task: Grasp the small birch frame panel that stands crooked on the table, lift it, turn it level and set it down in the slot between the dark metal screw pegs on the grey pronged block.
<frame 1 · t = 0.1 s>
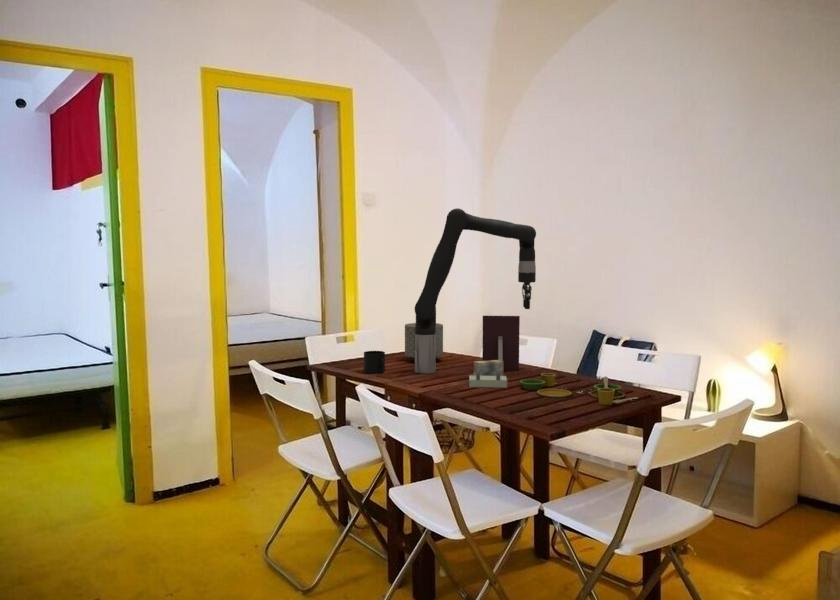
hand: (526, 308, 282), 29 cm above the table, fingers open, 8 cm apart
mug: (376, 372, 286), on the table
tableware set: (574, 395, 243), on the table
dark maroon upright block: (500, 371, 289), on the table
grey pronged block: (487, 385, 258), on the table
frame panel: (488, 380, 269), on the table
planter: (423, 361, 318), on the table
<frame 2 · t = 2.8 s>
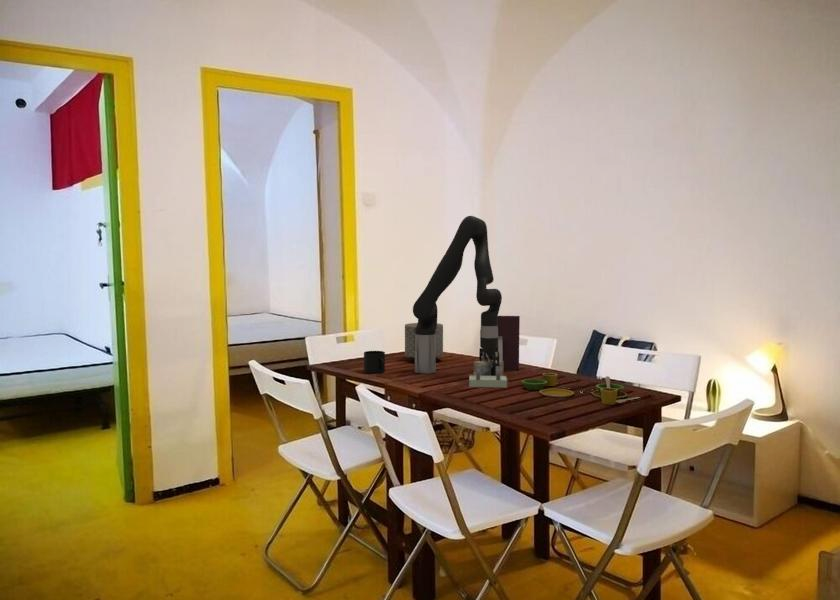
hand: (489, 374, 269), 2 cm above the table, fingers open, 8 cm apart
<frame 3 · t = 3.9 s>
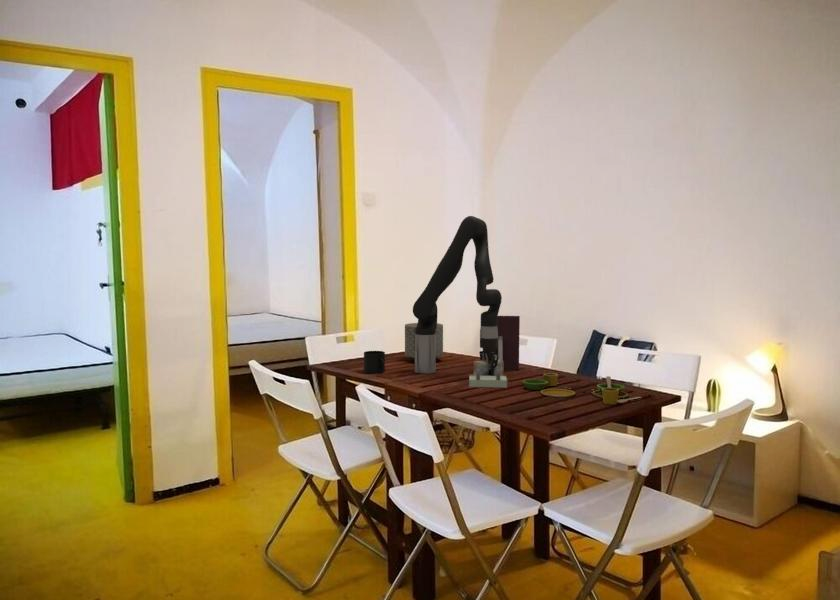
hand: (488, 376, 269), 1 cm above the table, fingers closed on frame panel, 4 cm apart
frame panel: (488, 379, 269), on the table, touching gripper
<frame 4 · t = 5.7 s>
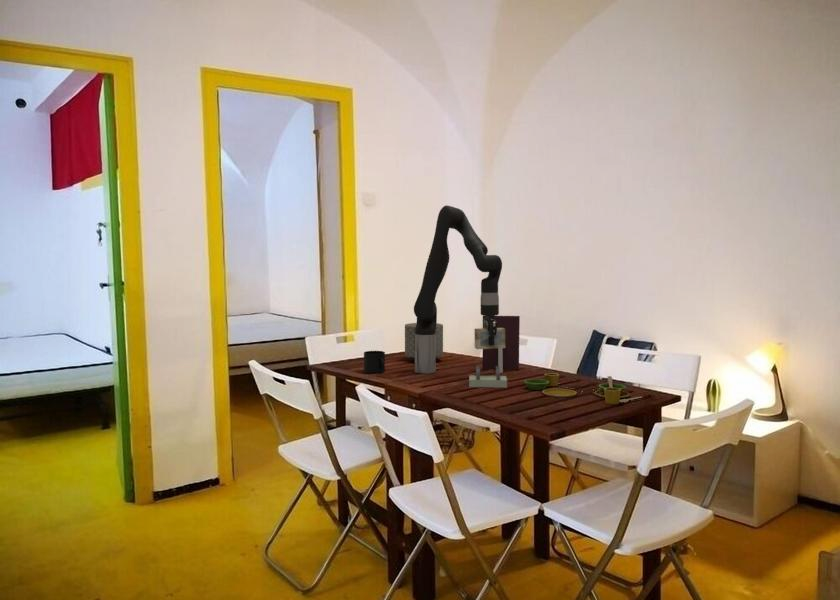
hand: (489, 344, 264), 16 cm above the table, fingers closed on frame panel, 4 cm apart
frame panel: (489, 347, 264), point 14 cm above the table, touching gripper
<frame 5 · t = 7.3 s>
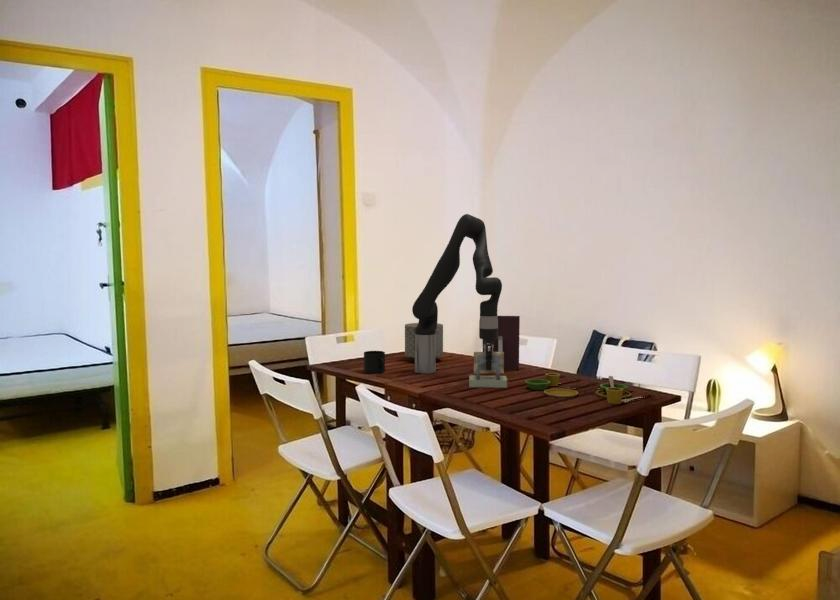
hand: (488, 368, 258), 7 cm above the table, fingers closed on frame panel, 4 cm apart
frame panel: (488, 372, 258), point 5 cm above the table, touching gripper
when the fingers open (6 cm above the table, at t = 7.7 s): frame panel drops 1 cm, resting on grey pronged block.
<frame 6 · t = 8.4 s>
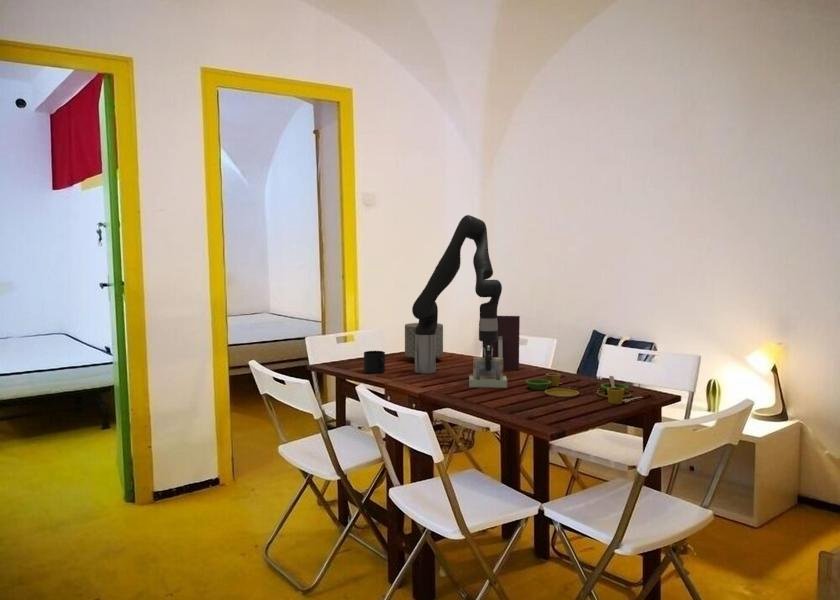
hand: (488, 369, 258), 7 cm above the table, fingers open, 8 cm apart
frame panel: (488, 377, 258), point 3 cm above the table, touching grey pronged block
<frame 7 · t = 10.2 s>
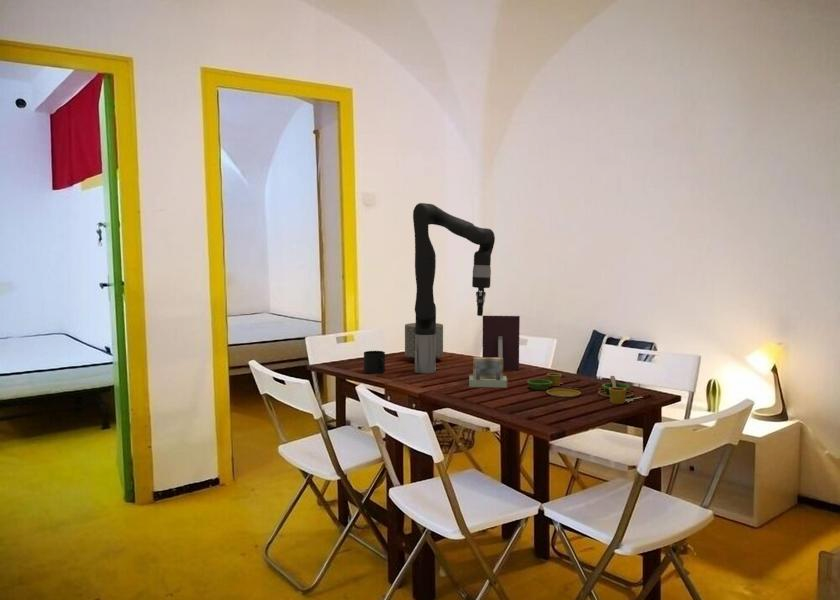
hand: (480, 314, 267), 28 cm above the table, fingers open, 8 cm apart
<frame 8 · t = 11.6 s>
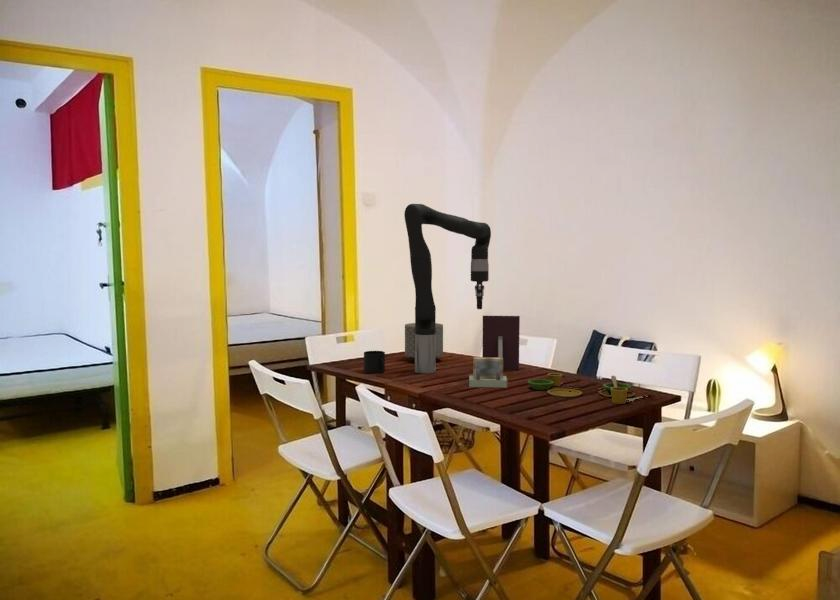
hand: (479, 308, 269), 30 cm above the table, fingers open, 8 cm apart
at the end: frame panel inside the target area on the grey pronged block (0.1 cm from its centre), point 3.0 cm above the grey pronged block's base; frame panel tilted 0°; the gripper is holding nothing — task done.
